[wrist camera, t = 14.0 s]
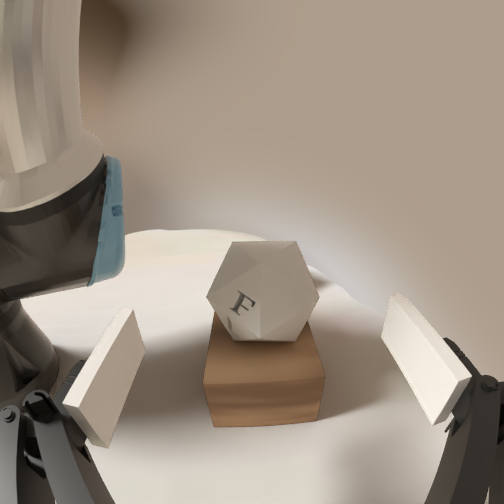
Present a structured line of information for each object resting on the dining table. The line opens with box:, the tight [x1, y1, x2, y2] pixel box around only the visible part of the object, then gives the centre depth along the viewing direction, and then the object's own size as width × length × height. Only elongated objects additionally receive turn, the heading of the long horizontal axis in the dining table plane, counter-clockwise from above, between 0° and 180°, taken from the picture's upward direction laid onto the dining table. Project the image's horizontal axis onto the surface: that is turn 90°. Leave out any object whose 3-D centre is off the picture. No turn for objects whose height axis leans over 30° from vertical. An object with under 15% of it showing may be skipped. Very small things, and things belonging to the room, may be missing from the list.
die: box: [206, 241, 319, 342], centre depth 24 cm, size 8×9×10 cm
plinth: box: [203, 312, 325, 427], centre depth 26 cm, size 13×9×6 cm
